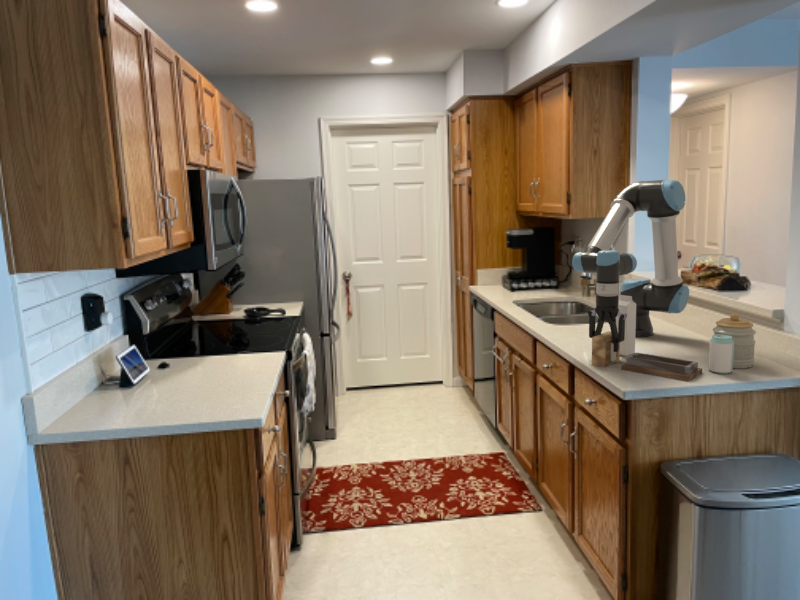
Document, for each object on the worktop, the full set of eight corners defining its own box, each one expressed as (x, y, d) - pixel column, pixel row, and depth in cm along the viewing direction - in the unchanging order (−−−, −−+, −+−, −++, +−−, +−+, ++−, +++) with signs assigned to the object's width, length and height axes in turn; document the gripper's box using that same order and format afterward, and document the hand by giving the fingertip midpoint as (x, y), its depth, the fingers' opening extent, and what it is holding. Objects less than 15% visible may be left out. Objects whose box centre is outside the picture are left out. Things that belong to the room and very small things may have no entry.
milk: (625, 356, 219) (627, 297, 215) (611, 353, 224) (612, 295, 220) (635, 353, 223) (636, 295, 219) (620, 350, 228) (622, 293, 224)
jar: (763, 366, 200) (766, 315, 197) (732, 370, 196) (735, 318, 193) (731, 357, 212) (734, 309, 209) (702, 361, 209) (704, 312, 206)
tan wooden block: (591, 364, 209) (592, 337, 207) (607, 357, 217) (608, 331, 216) (604, 367, 206) (604, 339, 204) (619, 360, 214) (620, 333, 212)
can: (704, 371, 197) (706, 336, 195) (714, 367, 201) (716, 332, 199) (726, 376, 191) (728, 339, 189) (736, 371, 195) (738, 336, 193)
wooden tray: (636, 361, 211) (636, 351, 210) (702, 372, 195) (702, 361, 195) (621, 369, 202) (621, 358, 202) (688, 381, 187) (689, 369, 186)
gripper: (578, 293, 211) (577, 357, 215) (627, 298, 199) (625, 365, 203) (589, 291, 216) (588, 353, 220) (636, 295, 204) (635, 360, 208)
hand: (606, 359), depth 211 cm, fingers closed on tan wooden block, 5 cm apart
